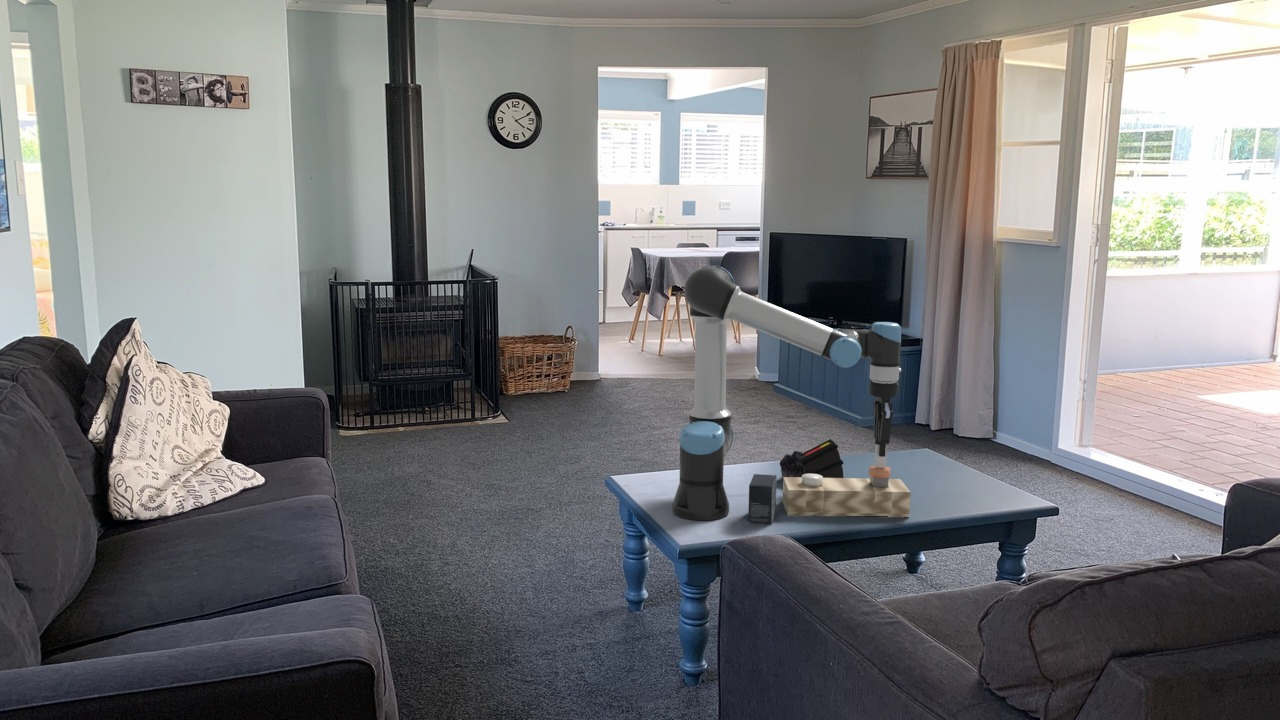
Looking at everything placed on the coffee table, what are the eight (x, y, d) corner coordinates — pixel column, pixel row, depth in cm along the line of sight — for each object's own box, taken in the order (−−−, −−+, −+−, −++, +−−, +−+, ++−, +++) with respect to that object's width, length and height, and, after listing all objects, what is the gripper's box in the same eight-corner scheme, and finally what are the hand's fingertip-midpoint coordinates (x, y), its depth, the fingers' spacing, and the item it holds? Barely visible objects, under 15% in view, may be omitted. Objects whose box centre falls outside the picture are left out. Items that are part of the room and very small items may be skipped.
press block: (787, 515, 257) (788, 490, 256) (782, 501, 269) (783, 477, 268) (909, 517, 256) (910, 492, 255) (898, 503, 268) (900, 479, 267)
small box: (752, 510, 261) (753, 472, 260) (776, 512, 260) (777, 474, 258) (746, 523, 251) (748, 484, 249) (772, 525, 250) (773, 486, 248)
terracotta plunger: (870, 497, 259) (871, 470, 258) (866, 491, 264) (867, 465, 263) (891, 498, 259) (892, 471, 258) (886, 491, 264) (888, 465, 263)
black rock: (824, 477, 295) (823, 445, 295) (826, 486, 282) (825, 452, 281) (780, 479, 297) (778, 446, 296) (780, 488, 284) (778, 454, 283)
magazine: (855, 486, 278) (835, 441, 275) (814, 507, 277) (794, 462, 274) (850, 482, 282) (831, 438, 278) (810, 503, 281) (790, 458, 277)
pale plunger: (802, 506, 260) (803, 479, 259) (799, 499, 265) (800, 473, 264) (823, 506, 260) (824, 479, 259) (820, 500, 265) (821, 473, 264)
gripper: (904, 385, 250) (900, 474, 254) (892, 376, 263) (888, 460, 267) (875, 385, 250) (871, 473, 254) (865, 376, 263) (861, 460, 267)
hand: (880, 467), depth 260 cm, fingers closed
